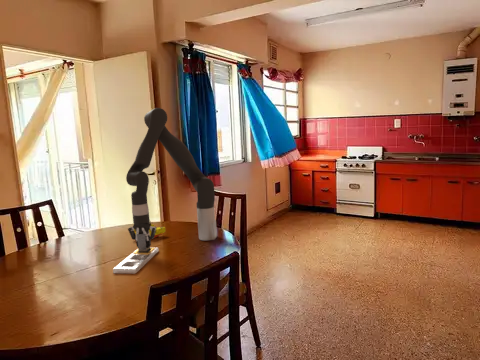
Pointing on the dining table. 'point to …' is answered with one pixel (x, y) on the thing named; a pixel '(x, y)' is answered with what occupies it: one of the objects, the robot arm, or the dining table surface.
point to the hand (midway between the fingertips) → (144, 247)
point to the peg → (142, 243)
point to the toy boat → (158, 230)
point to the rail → (135, 261)
